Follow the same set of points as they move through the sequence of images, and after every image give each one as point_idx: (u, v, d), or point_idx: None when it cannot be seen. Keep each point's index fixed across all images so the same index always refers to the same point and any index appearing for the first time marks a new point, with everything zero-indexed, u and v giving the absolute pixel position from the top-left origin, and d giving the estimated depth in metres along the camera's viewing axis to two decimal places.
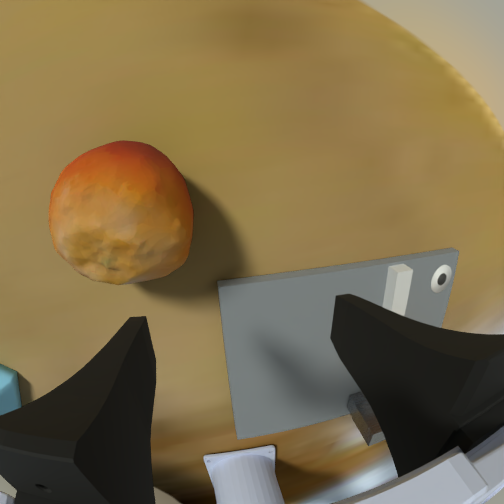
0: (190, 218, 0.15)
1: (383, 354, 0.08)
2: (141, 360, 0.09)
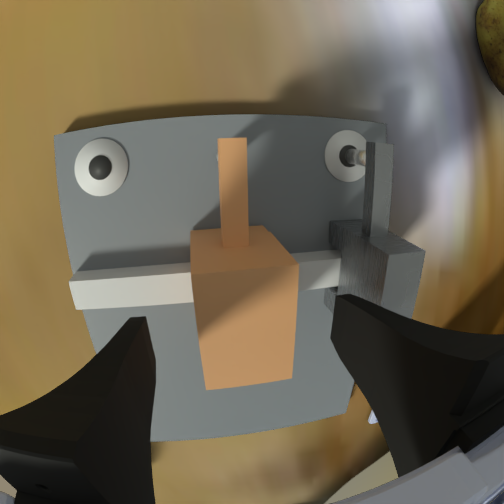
0: None
1: (383, 354, 0.08)
2: (141, 360, 0.09)
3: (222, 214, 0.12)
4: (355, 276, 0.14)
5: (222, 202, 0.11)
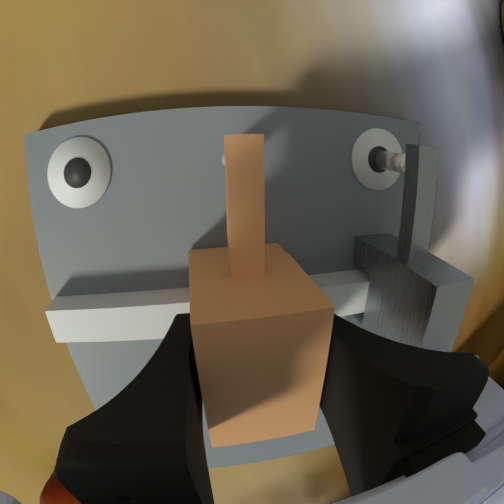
0: None
1: (333, 367, 0.08)
2: None
3: (230, 236, 0.09)
4: (388, 305, 0.11)
5: (231, 220, 0.09)
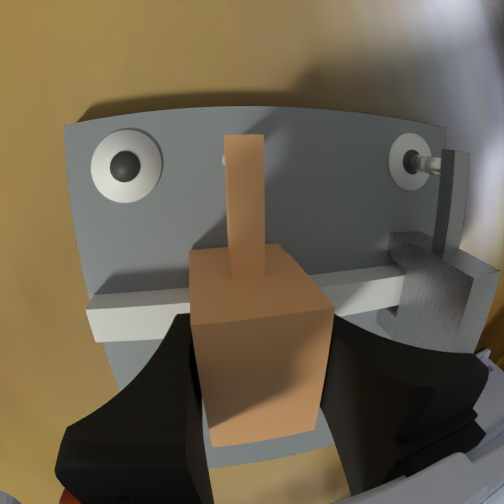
0: None
1: (333, 367, 0.08)
2: None
3: (231, 236, 0.09)
4: (425, 297, 0.11)
5: (231, 221, 0.09)
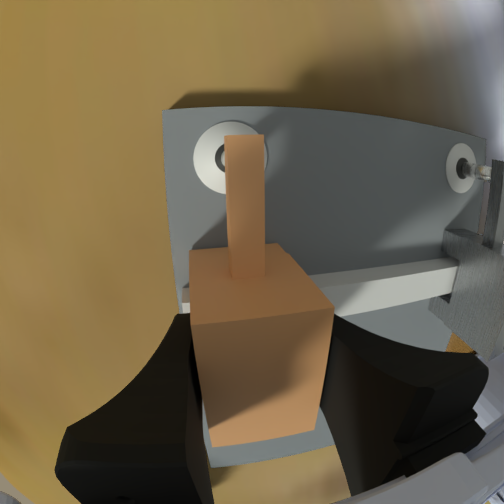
0: None
1: (333, 367, 0.08)
2: None
3: (231, 236, 0.09)
4: (478, 284, 0.12)
5: (231, 221, 0.09)
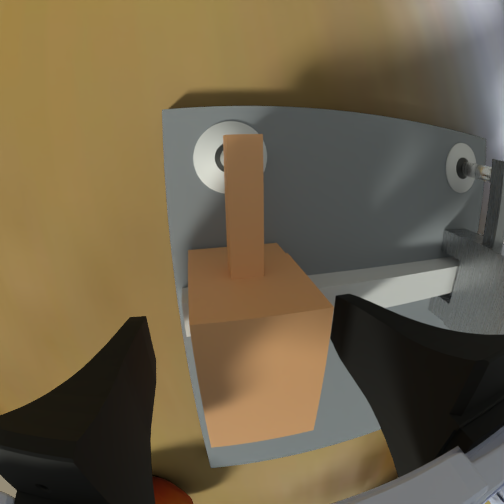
0: None
1: (383, 354, 0.08)
2: (141, 360, 0.09)
3: (229, 236, 0.09)
4: (478, 284, 0.12)
5: (230, 220, 0.09)
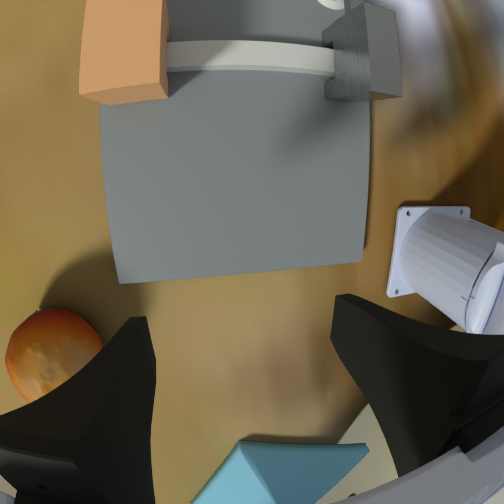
0: (33, 332, 0.15)
1: (383, 354, 0.08)
2: (141, 360, 0.09)
3: None
4: (345, 42, 0.14)
5: None
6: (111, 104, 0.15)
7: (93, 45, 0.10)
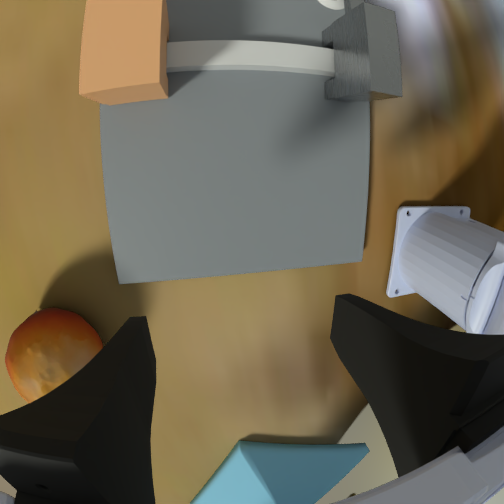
0: (33, 332, 0.15)
1: (383, 354, 0.08)
2: (141, 360, 0.09)
3: None
4: (345, 42, 0.14)
5: None
6: (111, 104, 0.15)
7: (93, 45, 0.10)
